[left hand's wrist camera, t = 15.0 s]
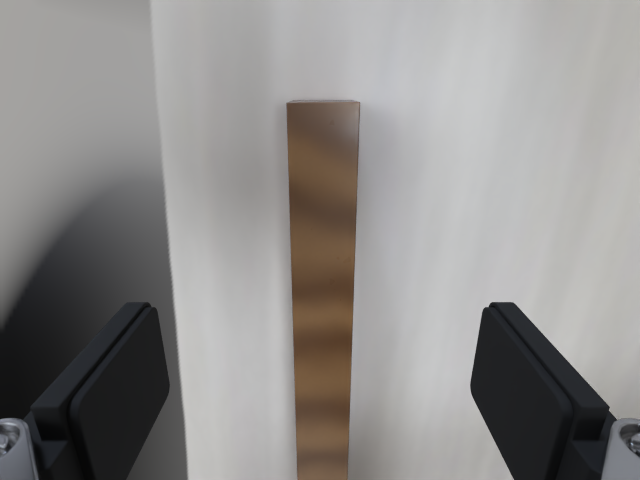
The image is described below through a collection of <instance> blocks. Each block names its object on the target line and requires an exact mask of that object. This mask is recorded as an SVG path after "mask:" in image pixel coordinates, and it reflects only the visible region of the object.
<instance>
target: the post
mask: <svg viewBox="0 0 640 480" xmlns="http://www.w3.org/2000/svg"><path fill="white" fill-rule="evenodd" d="M359 117H360V102H357V101H353V100H293V101H290V102H287V134H288V168H289V202H290V237H291V271H292V306H293V340H294V374H295V409H296V443H297V478H298V480H347V476H348V446H349V416H350V386H351V357H352V327H353V297H354V267H355V237H356V207H357V177H358V147H359Z"/></svg>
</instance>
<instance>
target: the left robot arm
mask: <svg viewBox="0 0 640 480" xmlns="http://www.w3.org/2000/svg"><path fill="white" fill-rule="evenodd" d="M169 387H170V384H169V377H168V371H167V365H166V359H165V353H164V347H163V341H162V336H161V330H160V324H159V318H158V312H157V309H156V308H155V307H151V305H150V304H149V303H148V302H128V303H126V304H125V305H124V306H123V307H122V308H121V309H120V310H119V311H118V312H117V313H116V314H115V315H114V316H113V318H112V319H111V320H110V321H109V322H108V323H107V324H106V325H105V326H104V327H103V328H102V330H101V331H100V332H99V333H98V334H97V335H96V336H95V337H94V338H93V339H92V340H91V342H90V343H89V344H88V345H87V346H86V347H85V348H84V349H83V350H82V351H81V352H80V354H79V355H78V356H77V357H76V358H75V359H74V360H73V361H72V362H71V363H70V364H69V365H68V367H67V368H66V369H65V370H64V371H63V372H62V373H61V374H60V375H59V376H58V377H57V379H56V380H55V381H54V382H53V383H52V384H51V385H50V386H49V387H48V388H47V389H46V391H45V392H44V393H43V394H42V395H41V396H40V397H39V398H38V399H37V400H36V401H35V402H34V404H33V405H32V406H31V407H30V408H31V411H30V413H29V414H28V415H27V416H26V417H25V418H24V419H23V420H21V419H16V418H6V419H0V480H126V478H127V477H128V475H129V472H130V471H131V469H132V467H133V465H134V463H135V461H136V458H137V457H138V455H139V452H140V451H141V449H142V446H143V445H144V443H145V441H146V439H147V437H148V435H149V433H150V431H151V428H152V427H153V424H154V423H155V421H156V419H157V417H158V415H159V413H160V411H161V409H162V407H163V405H164V403H165V401H166V399H167V396H168V393H169ZM470 387H471V393H472V396H473V399H474V401H475V403H476V405H477V407H478V409H479V411H480V413H481V415H482V417H483V419H484V421H485V423H486V425H487V427H488V429H489V431H490V433H491V435H492V437H493V439H494V441H495V443H496V445H497V447H498V449H499V451H500V453H501V455H502V457H503V459H504V461H505V463H506V465H507V467H508V469H509V471H510V473H511V475H512V477H513V479H514V480H640V419H634V418H624V419H619V420H617V419H616V418H615V417H614V416H613V415H612V414H611V413H610V411H609V408H610V407H609V406H608V405H607V404H606V402H605V401H604V400H603V399H602V398H601V397H600V396H599V395H598V394H597V393H596V392H595V391H594V389H593V388H592V387H591V386H590V385H589V384H588V383H587V382H586V381H585V380H584V379H583V377H582V376H581V375H580V374H579V373H578V372H577V371H576V370H575V369H574V368H573V367H572V365H571V364H570V363H569V362H568V361H567V360H566V359H565V358H564V357H563V356H562V355H561V353H560V352H559V351H558V350H557V349H556V348H555V347H554V346H553V345H552V344H551V343H550V342H549V340H548V339H547V338H546V337H545V336H544V335H543V334H542V333H541V332H540V331H539V330H538V328H537V327H536V326H535V325H534V324H533V323H532V322H531V321H530V320H529V319H528V318H527V316H526V315H525V314H524V313H523V312H522V311H521V310H520V309H519V308H518V307H517V306H516V305H515V304H514V303H512V302H492V303H490V305H489V307H485V308H484V309H483V312H482V318H481V324H480V330H479V335H478V341H477V347H476V353H475V359H474V365H473V371H472V377H471V384H470Z"/></svg>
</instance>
